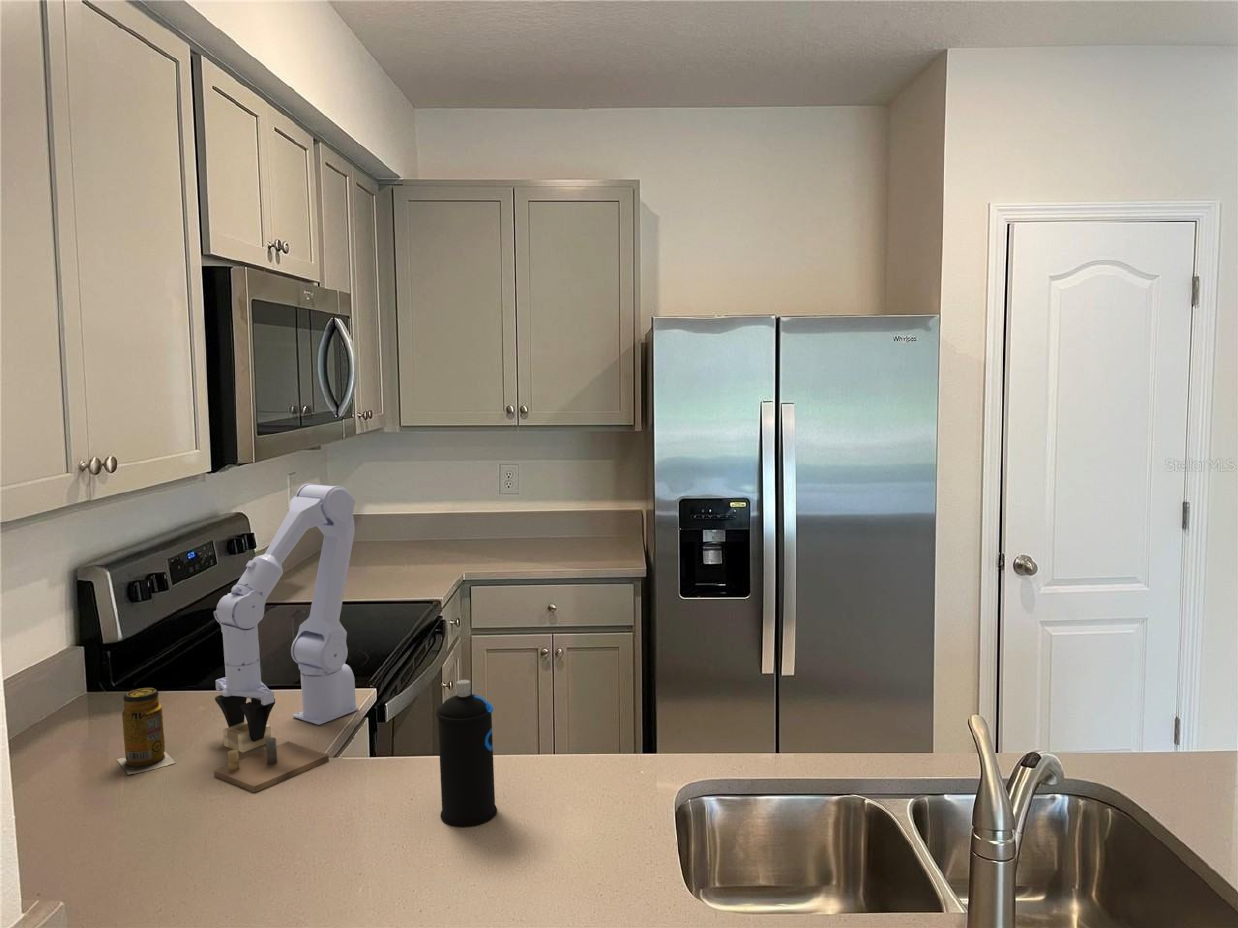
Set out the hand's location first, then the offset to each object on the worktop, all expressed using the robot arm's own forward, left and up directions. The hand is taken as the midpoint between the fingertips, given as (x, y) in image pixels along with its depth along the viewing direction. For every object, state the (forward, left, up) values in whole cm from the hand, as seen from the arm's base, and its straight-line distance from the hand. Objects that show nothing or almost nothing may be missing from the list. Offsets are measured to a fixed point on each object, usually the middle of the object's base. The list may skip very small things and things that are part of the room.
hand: (247, 735), depth 166 cm
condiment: (+14, -8, -2) cm, 16 cm away
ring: (0, 0, -1) cm, 1 cm away
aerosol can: (-2, +52, -2) cm, 52 cm away
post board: (+4, +13, -1) cm, 14 cm away
